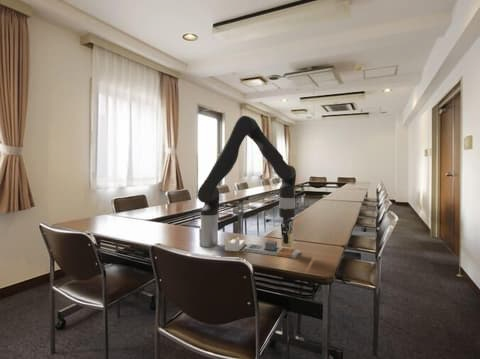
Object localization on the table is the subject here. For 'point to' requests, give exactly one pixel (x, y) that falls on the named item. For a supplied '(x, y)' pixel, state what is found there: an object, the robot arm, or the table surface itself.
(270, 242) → the brushed steel cube
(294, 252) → the grey long flat tray
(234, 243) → the bracket
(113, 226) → the table surface
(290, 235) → the yellow gold block
